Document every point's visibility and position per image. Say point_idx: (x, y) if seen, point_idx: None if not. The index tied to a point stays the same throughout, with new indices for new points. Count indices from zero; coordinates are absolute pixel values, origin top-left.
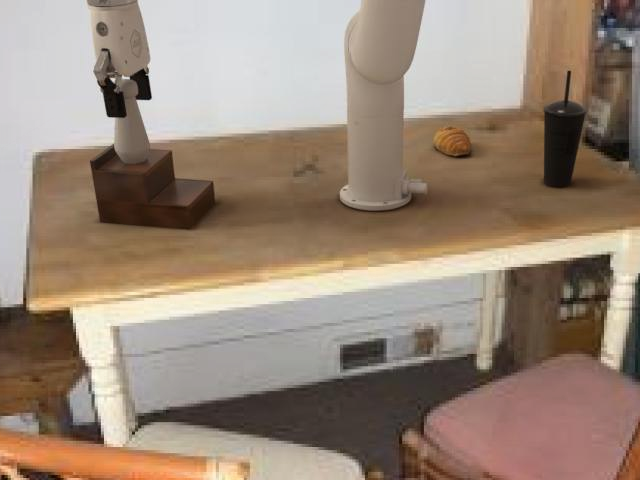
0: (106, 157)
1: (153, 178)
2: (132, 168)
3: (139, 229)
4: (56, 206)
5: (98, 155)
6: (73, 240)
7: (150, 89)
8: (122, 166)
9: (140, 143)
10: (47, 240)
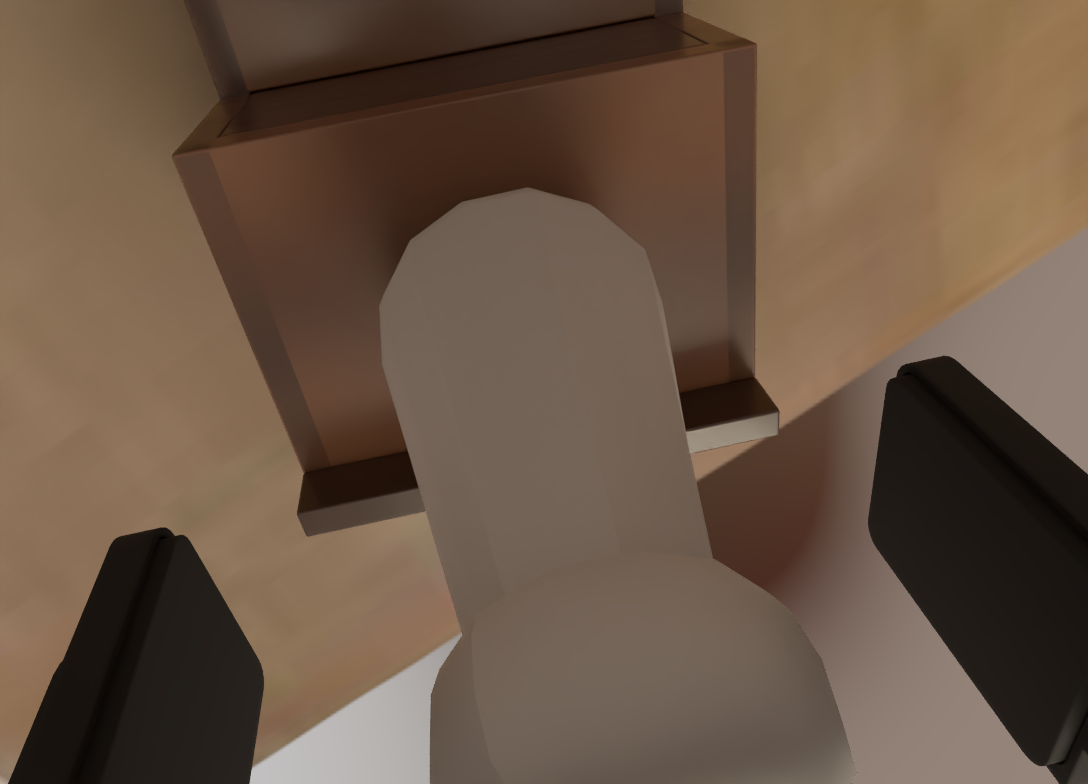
0: None
1: (568, 58)
2: (669, 190)
3: None
4: None
5: None
6: (863, 244)
7: (80, 635)
8: None
9: (593, 232)
10: (874, 334)
